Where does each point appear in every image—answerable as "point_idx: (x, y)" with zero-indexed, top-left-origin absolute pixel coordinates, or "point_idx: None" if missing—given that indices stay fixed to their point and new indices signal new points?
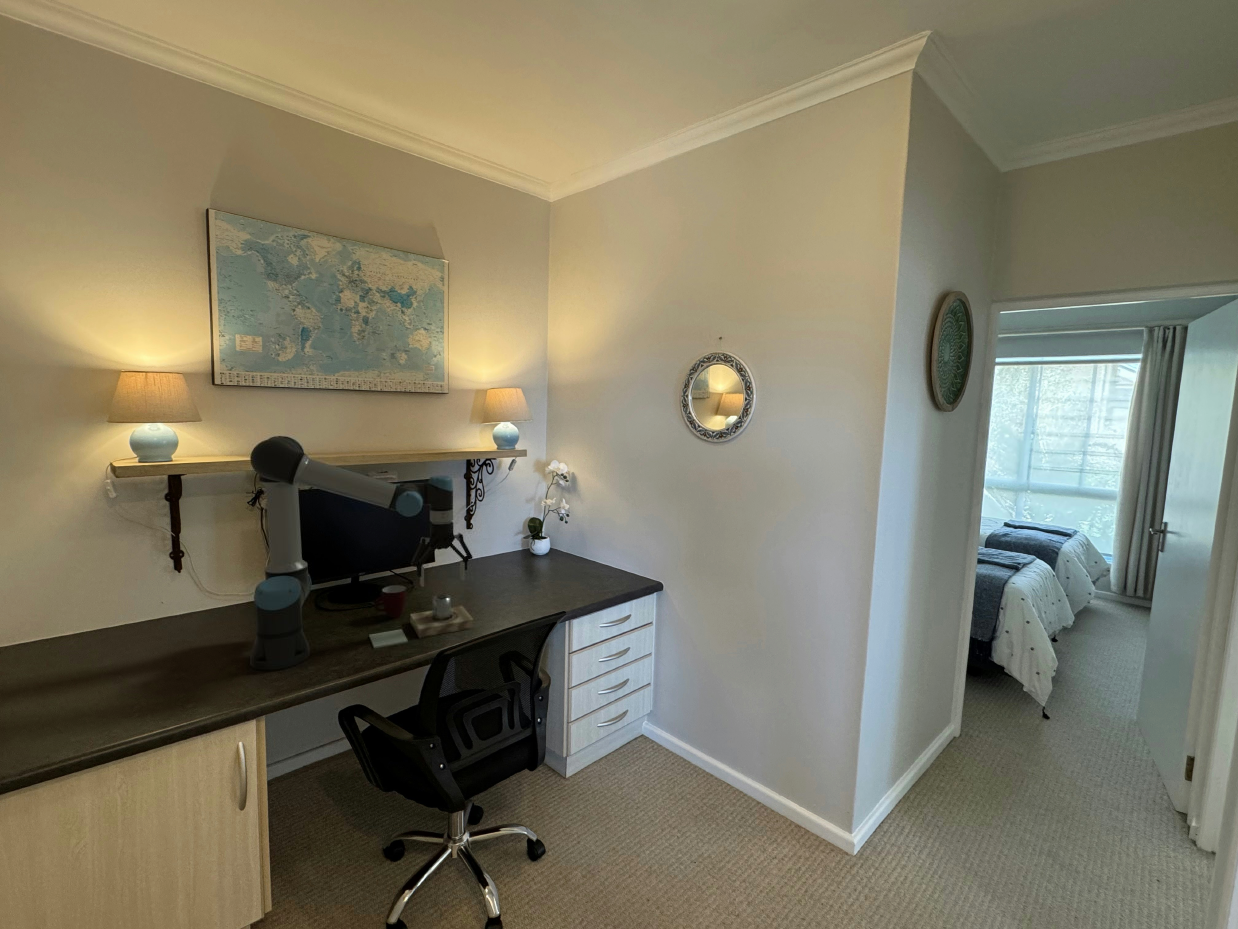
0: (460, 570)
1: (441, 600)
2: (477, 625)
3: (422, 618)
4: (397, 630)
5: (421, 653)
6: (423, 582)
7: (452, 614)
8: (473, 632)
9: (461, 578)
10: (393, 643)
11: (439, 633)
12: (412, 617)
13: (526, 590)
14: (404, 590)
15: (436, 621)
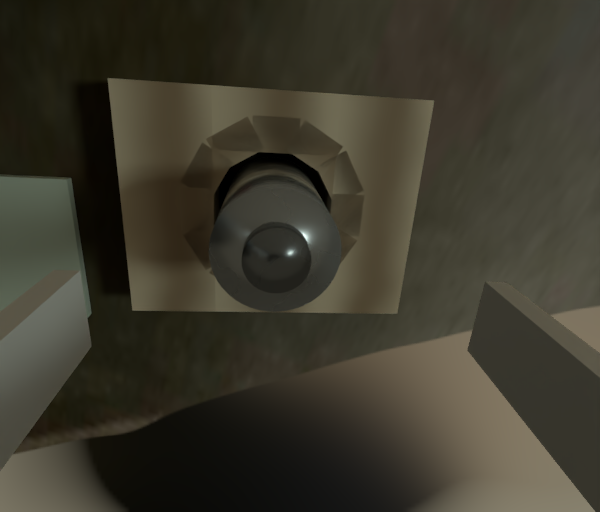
0: (540, 340)
1: (256, 308)
2: (411, 275)
3: (169, 185)
4: (44, 186)
5: (134, 413)
6: (63, 375)
7: (334, 206)
8: (365, 332)
9: (481, 327)
10: None
11: None
12: (115, 142)
13: None
14: None
15: None
